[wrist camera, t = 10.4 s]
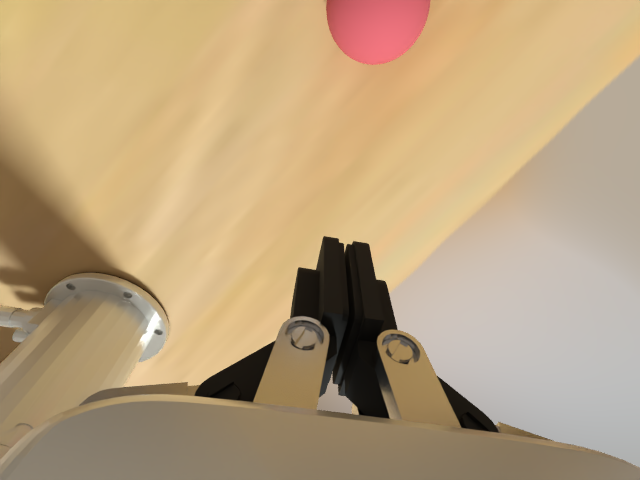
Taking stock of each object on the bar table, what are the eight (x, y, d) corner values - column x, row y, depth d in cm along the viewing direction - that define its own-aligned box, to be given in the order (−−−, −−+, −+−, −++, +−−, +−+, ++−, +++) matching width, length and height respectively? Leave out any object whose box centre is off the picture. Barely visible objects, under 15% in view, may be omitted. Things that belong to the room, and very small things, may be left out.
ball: (352, -112, 17) (324, -17, 23) (333, 1, 16) (310, 68, 22) (459, -68, 18) (406, 11, 24) (444, 38, 18) (394, 92, 23)
